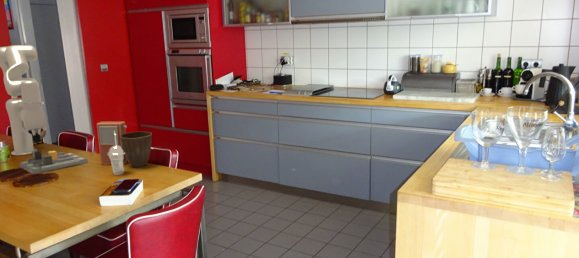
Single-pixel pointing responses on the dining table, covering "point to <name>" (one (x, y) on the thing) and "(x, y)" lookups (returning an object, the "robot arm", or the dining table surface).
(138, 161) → the plant pot
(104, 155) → the control panel
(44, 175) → the dining table surface
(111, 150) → the cup with straw
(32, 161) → the breaker board
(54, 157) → the block
